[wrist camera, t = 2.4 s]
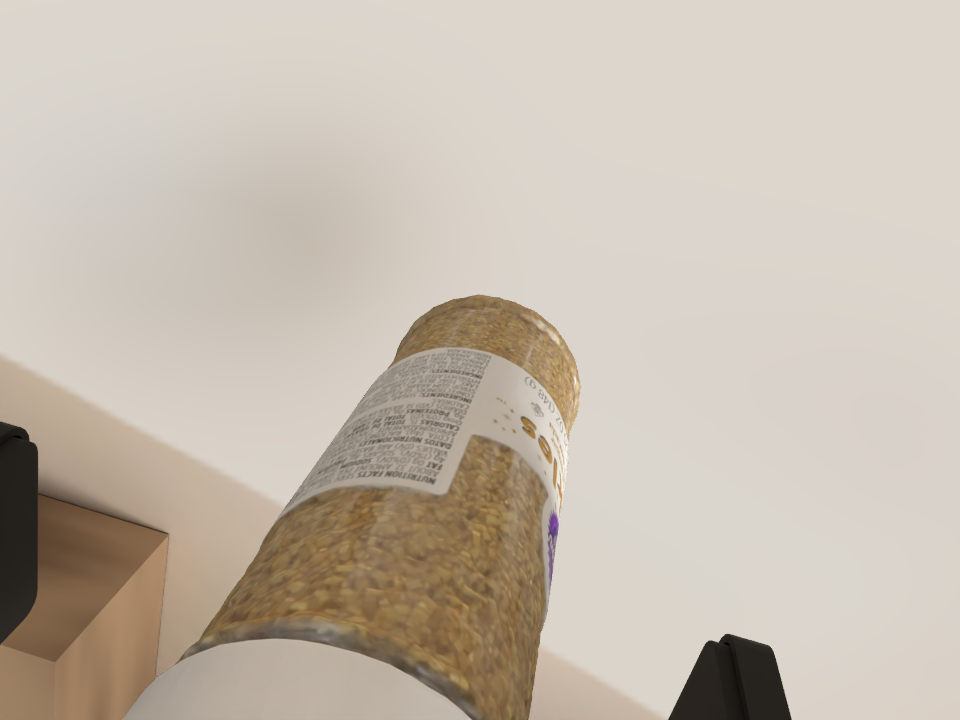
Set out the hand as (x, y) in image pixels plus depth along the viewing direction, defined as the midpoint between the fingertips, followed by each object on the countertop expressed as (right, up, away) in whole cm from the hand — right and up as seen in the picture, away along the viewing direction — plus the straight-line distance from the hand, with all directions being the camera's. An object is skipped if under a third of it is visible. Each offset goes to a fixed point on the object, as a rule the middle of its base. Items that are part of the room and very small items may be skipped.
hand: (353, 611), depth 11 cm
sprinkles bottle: (+2, +3, +9) cm, 9 cm away
